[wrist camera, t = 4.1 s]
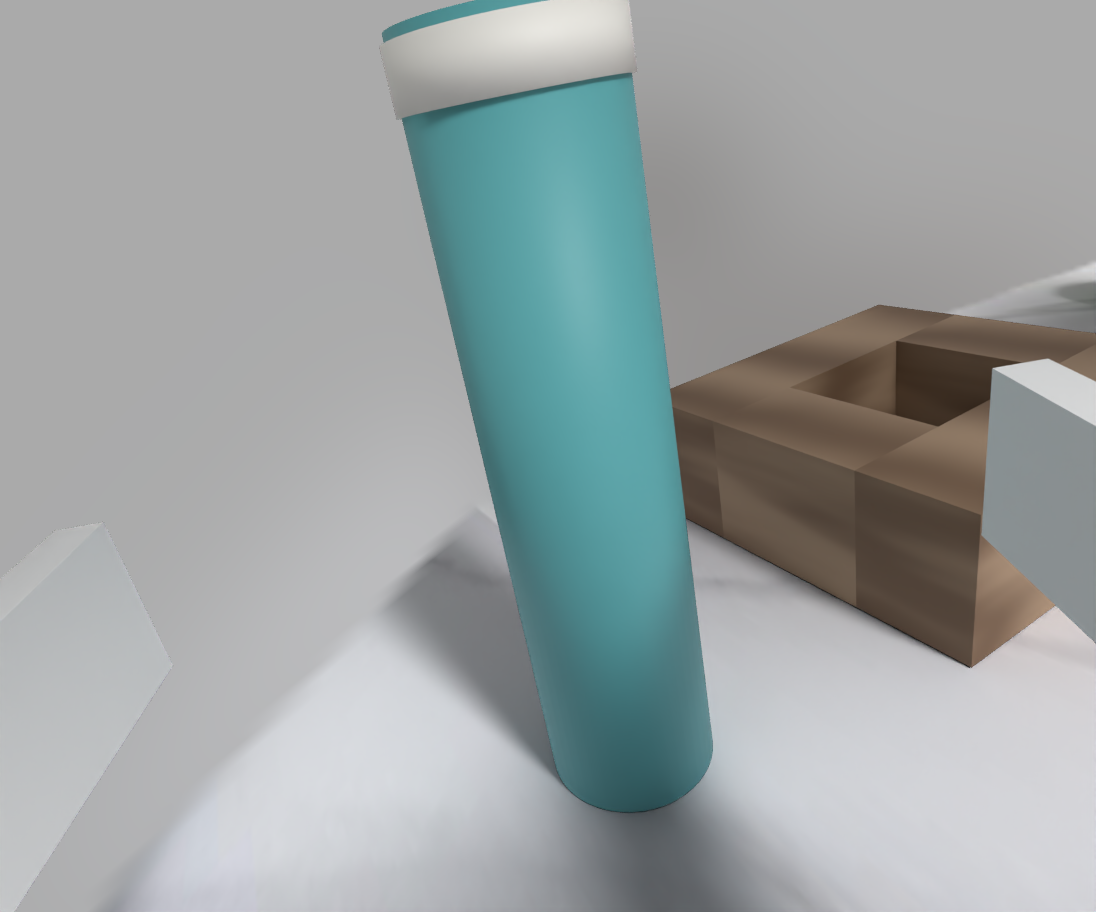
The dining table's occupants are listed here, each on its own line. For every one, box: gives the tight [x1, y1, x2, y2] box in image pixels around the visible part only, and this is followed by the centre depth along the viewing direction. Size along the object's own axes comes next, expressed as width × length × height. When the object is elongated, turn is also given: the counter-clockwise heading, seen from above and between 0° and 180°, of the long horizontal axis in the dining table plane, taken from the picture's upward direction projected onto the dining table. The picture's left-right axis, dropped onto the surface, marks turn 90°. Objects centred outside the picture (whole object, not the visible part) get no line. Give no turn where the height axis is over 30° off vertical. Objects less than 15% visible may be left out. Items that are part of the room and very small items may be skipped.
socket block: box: [670, 305, 1096, 668], centre depth 29 cm, size 14×14×5 cm
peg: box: [379, 0, 713, 812], centre depth 18 cm, size 5×5×18 cm
